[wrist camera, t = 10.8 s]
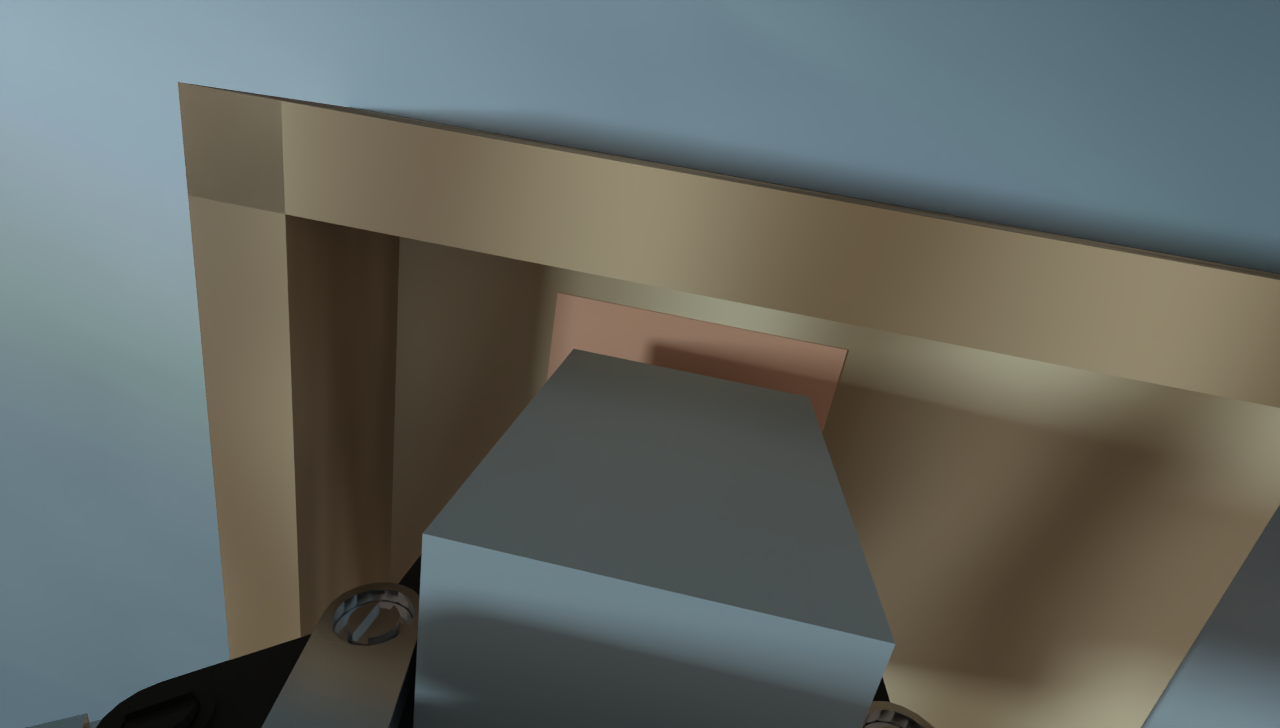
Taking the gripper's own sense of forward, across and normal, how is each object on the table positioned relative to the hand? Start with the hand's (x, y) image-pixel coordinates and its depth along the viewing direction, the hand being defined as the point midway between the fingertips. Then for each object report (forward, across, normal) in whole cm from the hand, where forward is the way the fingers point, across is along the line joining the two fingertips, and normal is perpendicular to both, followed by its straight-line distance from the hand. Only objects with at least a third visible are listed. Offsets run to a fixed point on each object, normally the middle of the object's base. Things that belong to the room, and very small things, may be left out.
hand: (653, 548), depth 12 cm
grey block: (+1, 0, 0) cm, 1 cm away
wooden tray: (+3, -2, +3) cm, 4 cm away
